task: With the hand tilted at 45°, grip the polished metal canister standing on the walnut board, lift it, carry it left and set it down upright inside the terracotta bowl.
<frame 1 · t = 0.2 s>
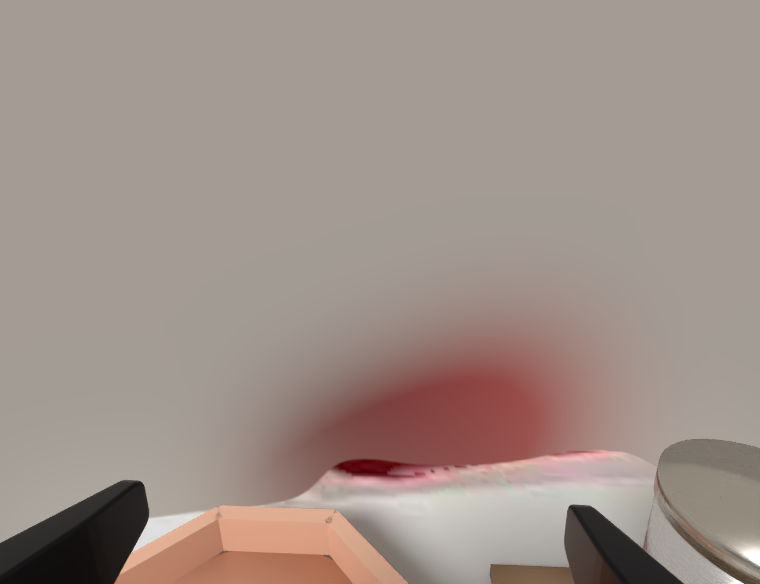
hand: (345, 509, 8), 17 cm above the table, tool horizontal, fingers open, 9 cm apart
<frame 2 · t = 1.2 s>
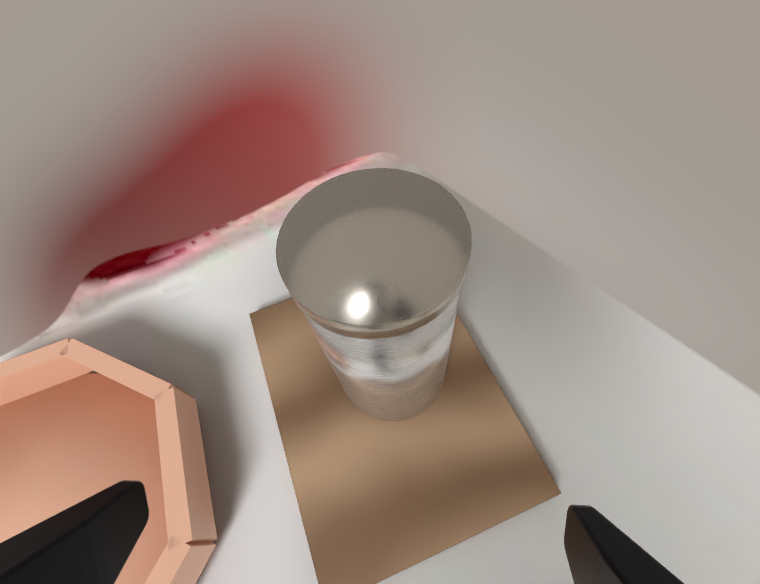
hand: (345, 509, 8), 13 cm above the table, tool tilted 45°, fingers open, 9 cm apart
walnut board: (383, 394, 23), on the table
terracotta bowl: (43, 538, 21), on the table
polished metal canister: (392, 368, 23), point 1 cm above the table, touching walnut board
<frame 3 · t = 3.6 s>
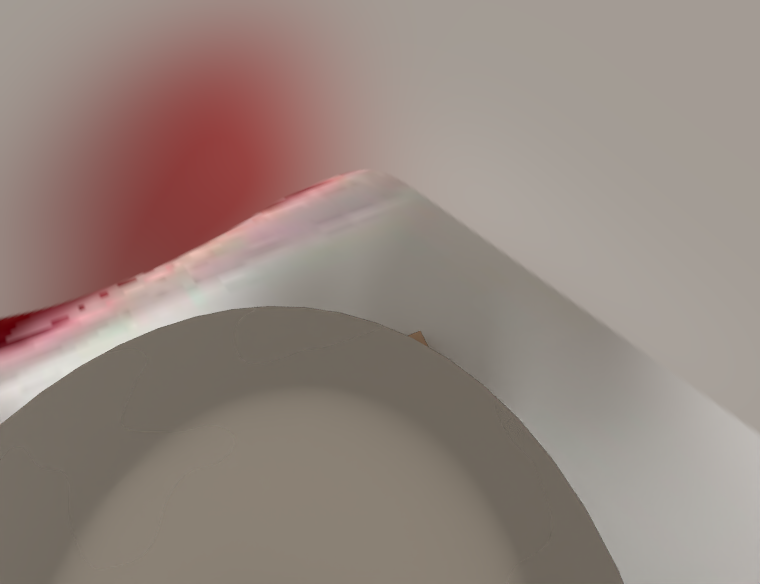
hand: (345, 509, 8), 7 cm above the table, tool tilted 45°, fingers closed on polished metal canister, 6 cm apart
polished metal canister: (371, 565, 13), point 1 cm above the table, touching gripper, walnut board
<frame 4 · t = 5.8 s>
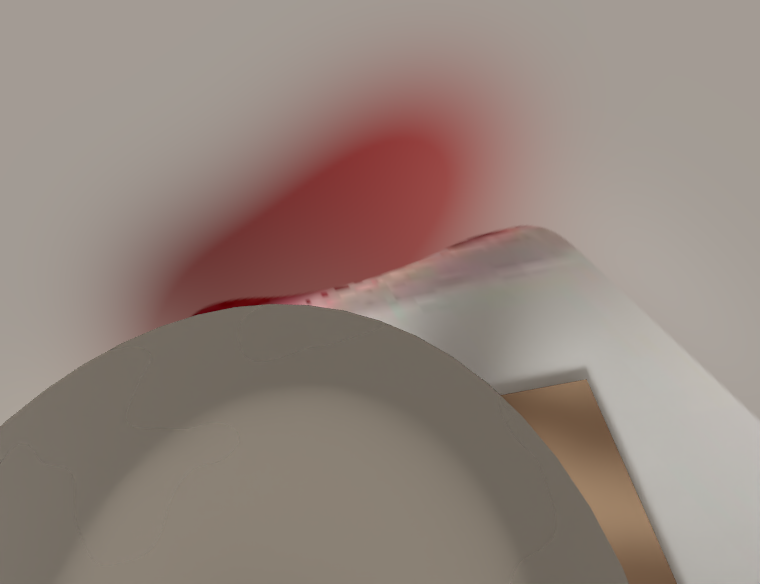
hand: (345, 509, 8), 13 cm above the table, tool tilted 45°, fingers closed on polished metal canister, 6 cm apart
walnut board: (525, 576, 18), on the table
polished metal canister: (372, 564, 13), point 7 cm above the table, touching gripper
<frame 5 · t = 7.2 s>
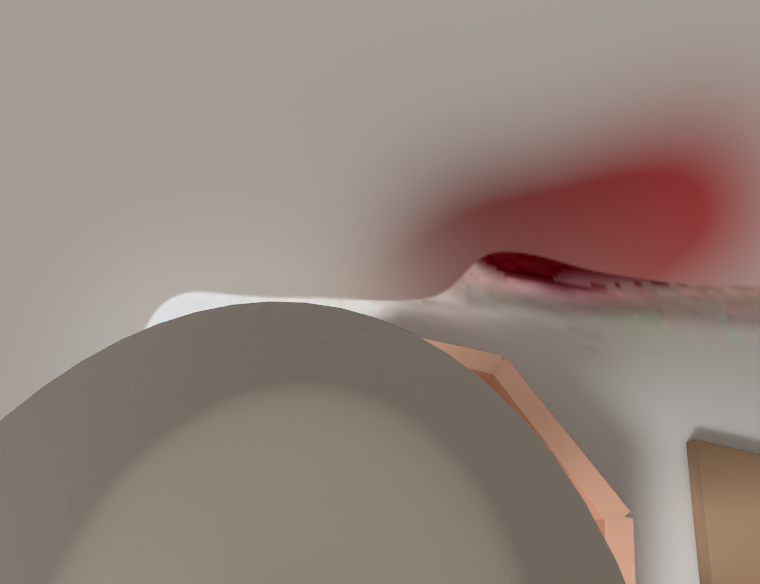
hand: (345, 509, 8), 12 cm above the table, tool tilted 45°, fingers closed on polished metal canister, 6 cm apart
terracotta bowl: (383, 549, 18), on the table
polished metal canister: (371, 563, 13), point 6 cm above the table, touching gripper
when the fingers open (9 cm above the table, at t = 8.3 s): polished metal canister drops 1 cm, resting on terracotta bowl.
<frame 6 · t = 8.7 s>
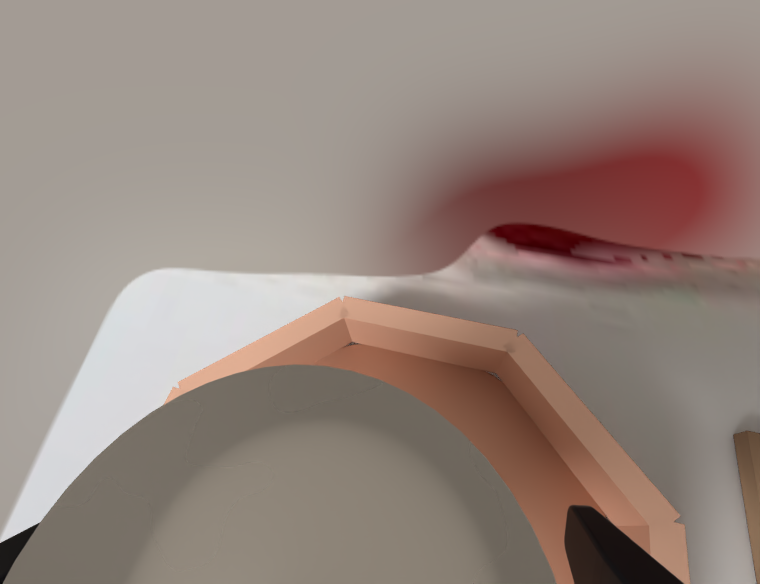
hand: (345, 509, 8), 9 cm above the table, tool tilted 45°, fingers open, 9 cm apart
terracotta bowl: (377, 560, 15), on the table
polished metal canister: (374, 565, 14), point 1 cm above the table, touching terracotta bowl
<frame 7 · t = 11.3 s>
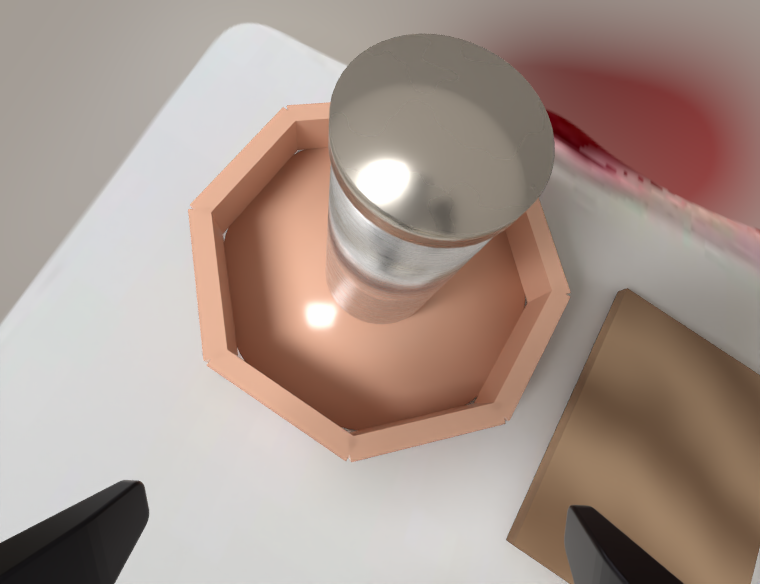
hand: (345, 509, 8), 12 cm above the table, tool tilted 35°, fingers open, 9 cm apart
walnut board: (657, 462, 22), on the table
terracotta bowl: (378, 275, 23), on the table
polished metal canister: (380, 270, 22), point 1 cm above the table, touching terracotta bowl
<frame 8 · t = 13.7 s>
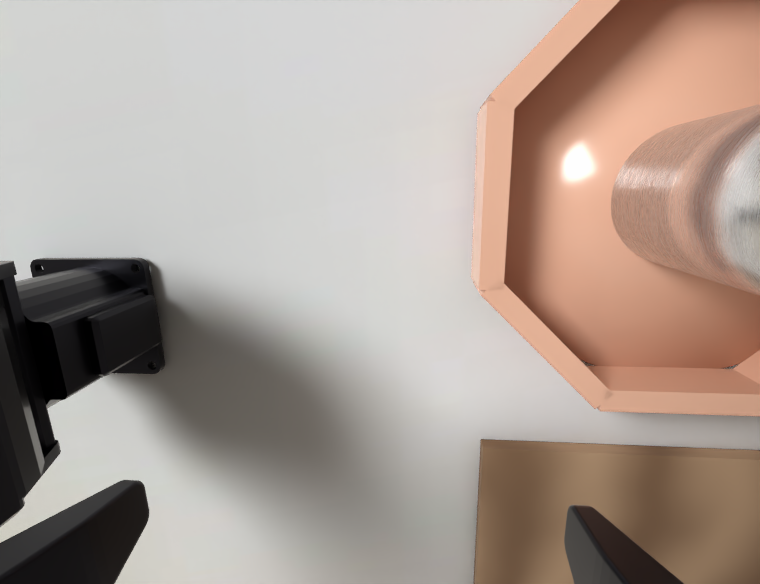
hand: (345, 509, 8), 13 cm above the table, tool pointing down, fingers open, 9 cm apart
walnut board: (618, 537, 23), on the table
terracotta bowl: (672, 195, 18), on the table
polished metal canister: (684, 196, 17), point 1 cm above the table, touching terracotta bowl
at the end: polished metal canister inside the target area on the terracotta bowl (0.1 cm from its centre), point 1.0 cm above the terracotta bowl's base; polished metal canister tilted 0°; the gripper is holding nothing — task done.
